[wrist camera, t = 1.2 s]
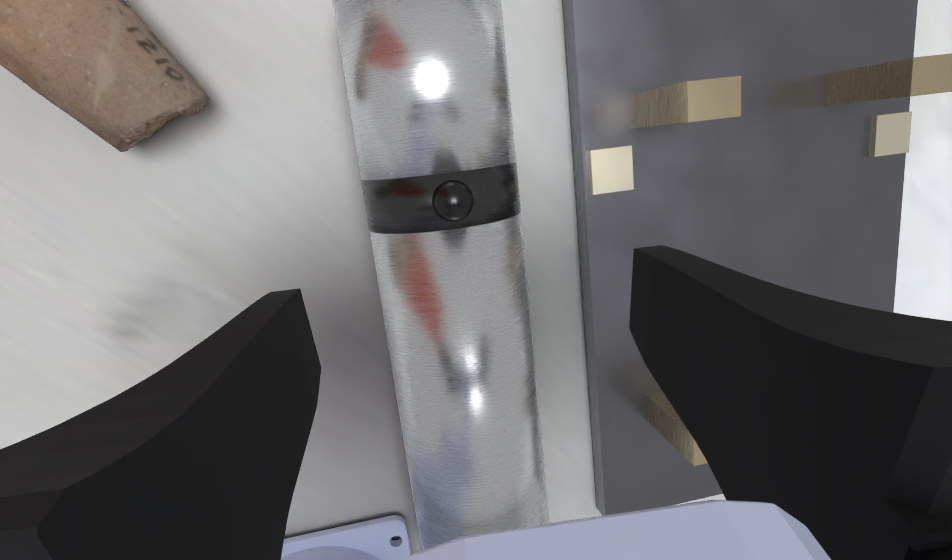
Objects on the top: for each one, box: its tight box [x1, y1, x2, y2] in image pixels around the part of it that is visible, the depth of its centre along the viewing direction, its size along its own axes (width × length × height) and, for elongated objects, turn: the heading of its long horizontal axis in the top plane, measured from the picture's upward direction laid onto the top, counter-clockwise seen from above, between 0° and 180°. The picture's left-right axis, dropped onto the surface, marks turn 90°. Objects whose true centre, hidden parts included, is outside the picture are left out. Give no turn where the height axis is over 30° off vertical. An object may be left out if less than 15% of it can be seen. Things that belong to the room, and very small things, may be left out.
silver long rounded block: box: [332, 0, 550, 551], centre depth 18 cm, size 20×5×6 cm, turn 7°
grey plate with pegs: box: [562, 0, 952, 516], centre depth 21 cm, size 22×14×4 cm, turn 7°
